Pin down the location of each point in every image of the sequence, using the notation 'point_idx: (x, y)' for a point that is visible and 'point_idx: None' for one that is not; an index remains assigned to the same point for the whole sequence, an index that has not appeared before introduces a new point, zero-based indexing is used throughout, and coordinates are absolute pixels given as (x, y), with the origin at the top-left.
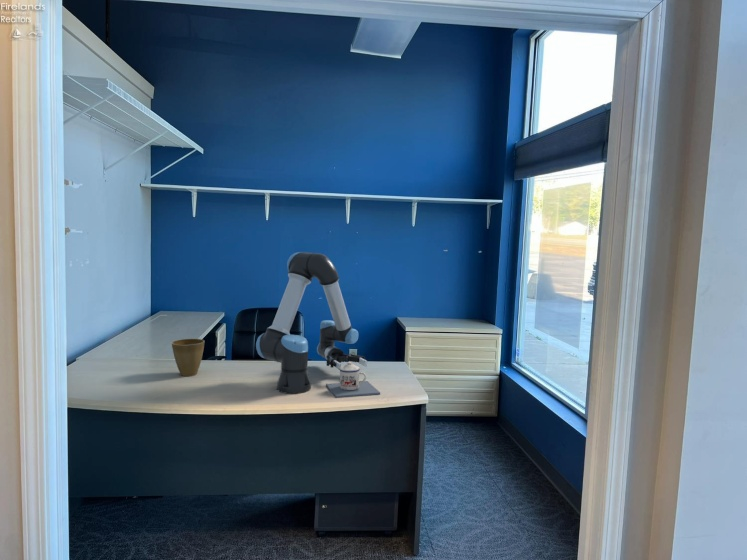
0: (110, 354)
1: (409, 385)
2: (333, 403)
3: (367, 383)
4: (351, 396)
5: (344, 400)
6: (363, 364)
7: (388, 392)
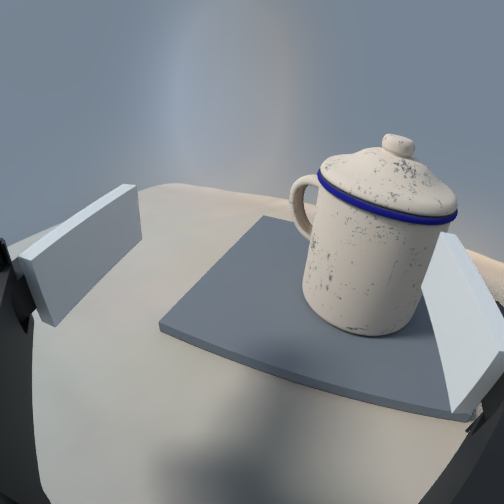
0: None
1: None
2: None
3: (204, 295)
4: None
5: None
6: (116, 251)
7: (216, 220)
